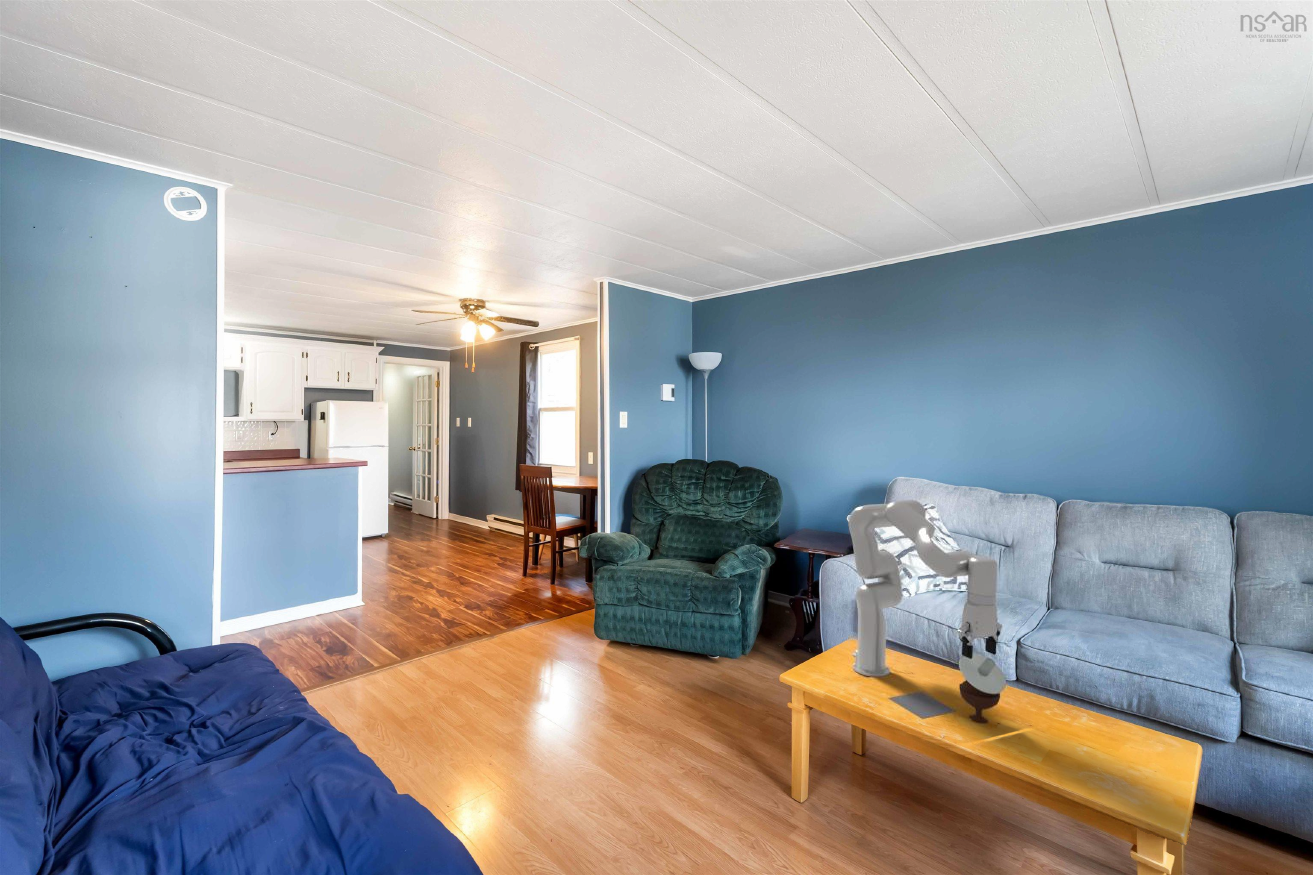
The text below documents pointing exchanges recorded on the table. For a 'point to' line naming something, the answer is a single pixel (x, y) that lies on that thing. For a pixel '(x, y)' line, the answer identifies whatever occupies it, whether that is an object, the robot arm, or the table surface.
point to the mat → (922, 705)
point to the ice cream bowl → (978, 700)
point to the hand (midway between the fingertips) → (978, 654)
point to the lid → (983, 674)
